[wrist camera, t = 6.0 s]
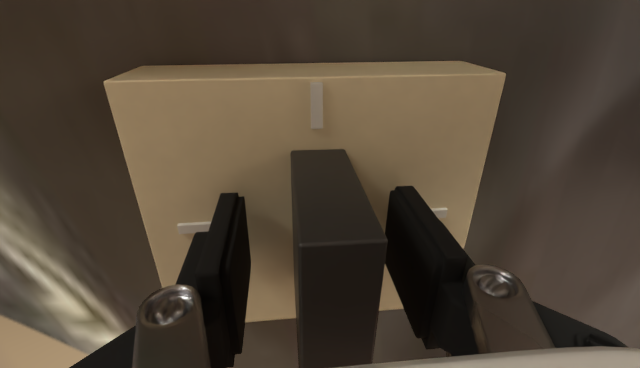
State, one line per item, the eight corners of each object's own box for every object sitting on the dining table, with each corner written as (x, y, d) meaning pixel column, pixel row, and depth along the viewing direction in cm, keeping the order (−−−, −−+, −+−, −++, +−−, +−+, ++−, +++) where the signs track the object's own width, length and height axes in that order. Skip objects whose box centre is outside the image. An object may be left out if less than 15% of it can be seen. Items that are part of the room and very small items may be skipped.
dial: (290, 149, 11) (298, 252, 6) (345, 148, 11) (393, 247, 6) (294, 279, 13) (301, 422, 9) (338, 276, 14) (369, 414, 9)
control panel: (461, 60, 13) (510, 73, 10) (425, 261, 18) (452, 307, 15) (140, 65, 12) (98, 81, 9) (190, 278, 17) (172, 332, 14)
